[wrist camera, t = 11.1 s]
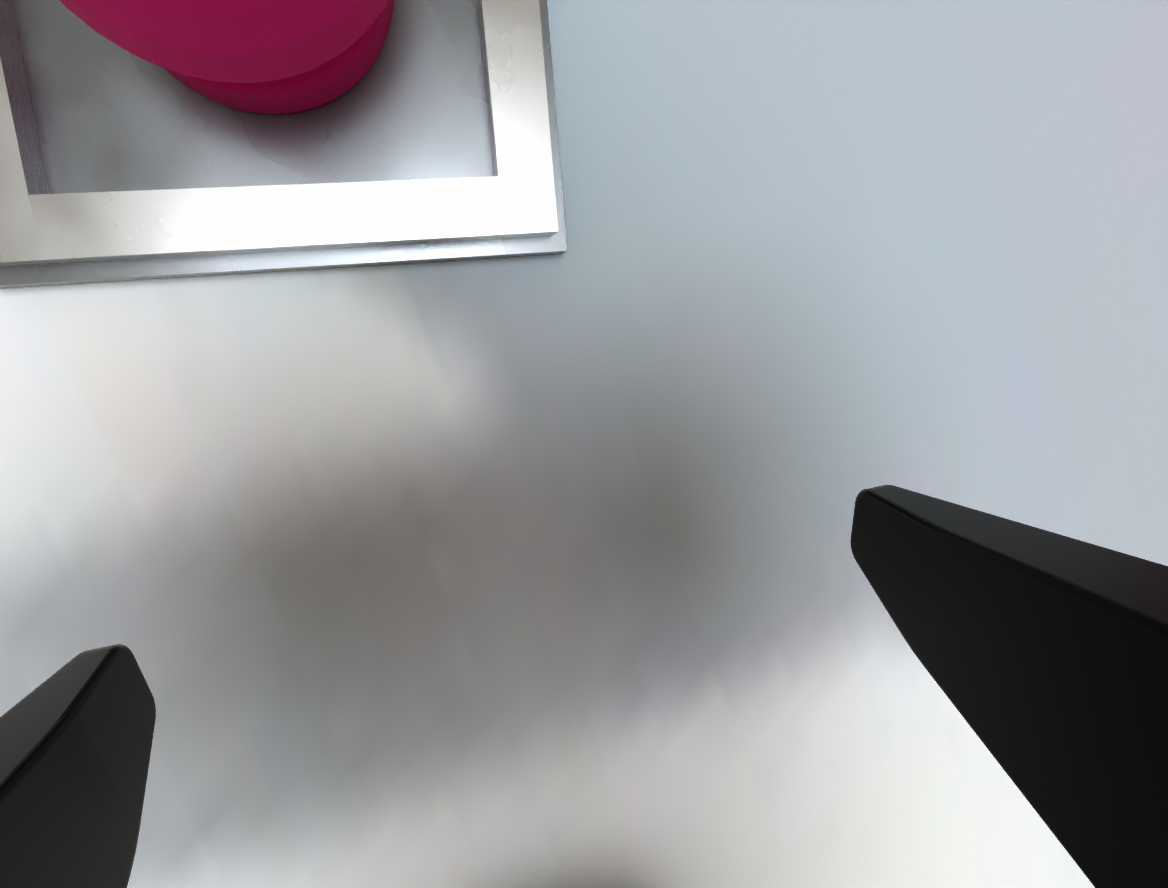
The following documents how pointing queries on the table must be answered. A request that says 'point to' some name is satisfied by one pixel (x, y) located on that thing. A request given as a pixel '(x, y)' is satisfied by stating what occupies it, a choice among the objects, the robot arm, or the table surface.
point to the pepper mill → (250, 45)
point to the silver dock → (277, 155)
